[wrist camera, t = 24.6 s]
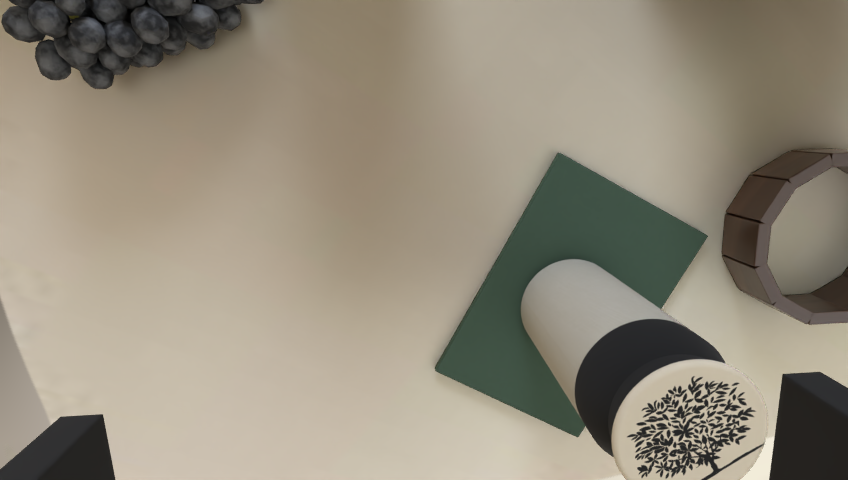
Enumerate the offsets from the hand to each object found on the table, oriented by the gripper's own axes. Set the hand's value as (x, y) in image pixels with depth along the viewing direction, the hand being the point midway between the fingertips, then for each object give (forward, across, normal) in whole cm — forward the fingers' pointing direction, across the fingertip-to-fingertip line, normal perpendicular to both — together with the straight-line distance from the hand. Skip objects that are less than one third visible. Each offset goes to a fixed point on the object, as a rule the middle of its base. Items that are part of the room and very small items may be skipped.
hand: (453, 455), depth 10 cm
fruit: (+31, -16, +14) cm, 38 cm away
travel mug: (+30, +12, -8) cm, 34 cm away
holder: (+31, +32, -3) cm, 44 cm away
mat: (+31, +12, -8) cm, 34 cm away
